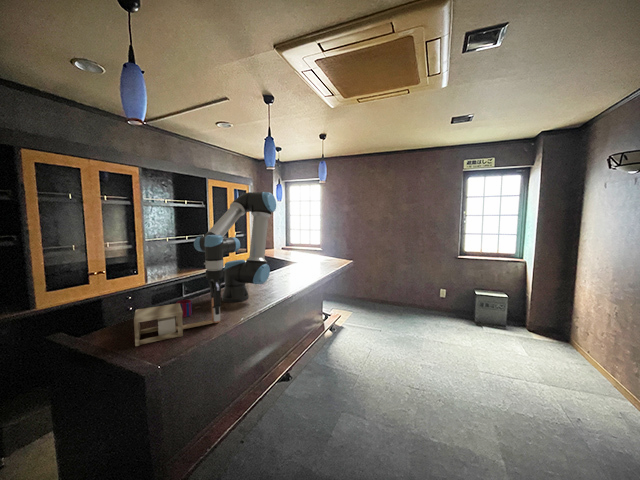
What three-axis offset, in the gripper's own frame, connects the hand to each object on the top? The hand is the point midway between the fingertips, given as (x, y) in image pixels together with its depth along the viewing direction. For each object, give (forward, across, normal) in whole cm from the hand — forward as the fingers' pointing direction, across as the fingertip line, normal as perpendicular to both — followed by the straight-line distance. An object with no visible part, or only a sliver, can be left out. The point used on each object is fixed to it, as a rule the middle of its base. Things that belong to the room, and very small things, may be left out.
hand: (216, 319), depth 117 cm
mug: (+2, -17, -13) cm, 22 cm away
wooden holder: (+2, 0, -22) cm, 22 cm away
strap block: (+1, 0, -10) cm, 10 cm away
